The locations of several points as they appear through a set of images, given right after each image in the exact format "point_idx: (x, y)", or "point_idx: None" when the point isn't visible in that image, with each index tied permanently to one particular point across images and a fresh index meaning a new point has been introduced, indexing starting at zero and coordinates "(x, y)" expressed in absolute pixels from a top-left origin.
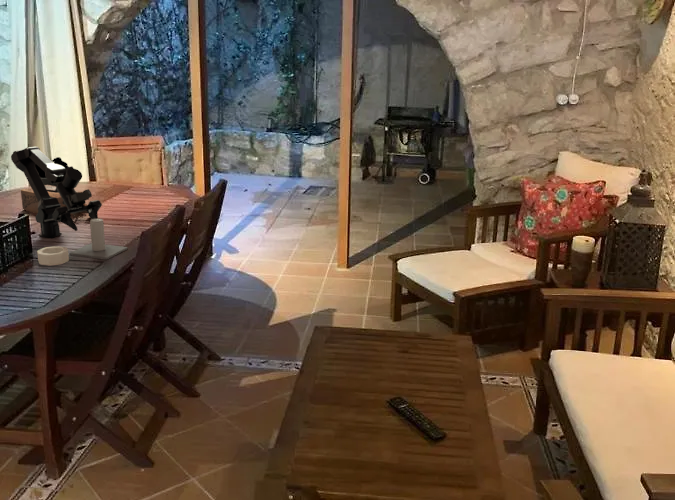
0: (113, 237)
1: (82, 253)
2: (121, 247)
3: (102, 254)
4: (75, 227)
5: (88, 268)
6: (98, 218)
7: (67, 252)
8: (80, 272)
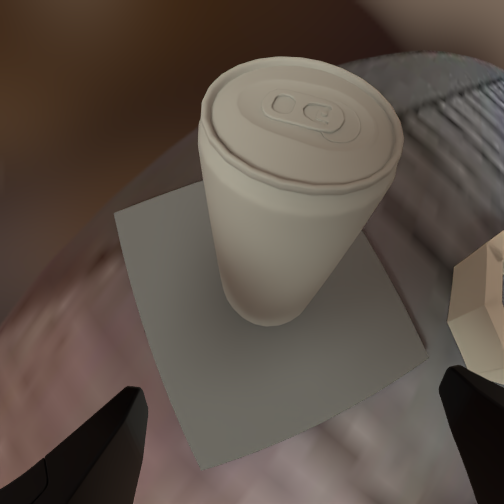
0: (27, 468)
1: (380, 293)
2: (136, 230)
3: None
4: (479, 375)
5: (410, 135)
6: (223, 146)
7: (484, 244)
8: (440, 129)
